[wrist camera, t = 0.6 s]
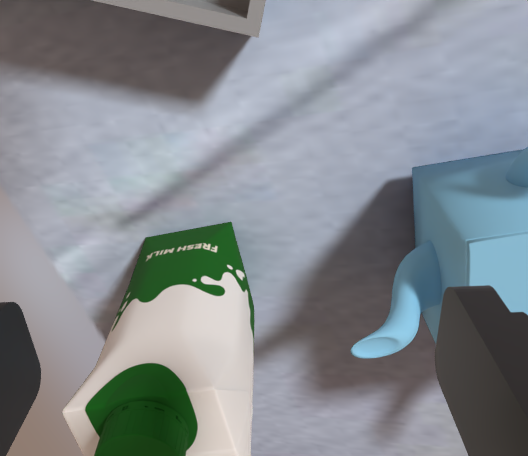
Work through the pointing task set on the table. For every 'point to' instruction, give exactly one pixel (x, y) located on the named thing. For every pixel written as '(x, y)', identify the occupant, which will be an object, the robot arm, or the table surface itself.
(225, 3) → the open box
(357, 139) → the table surface
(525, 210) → the teakettle
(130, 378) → the milk carton
